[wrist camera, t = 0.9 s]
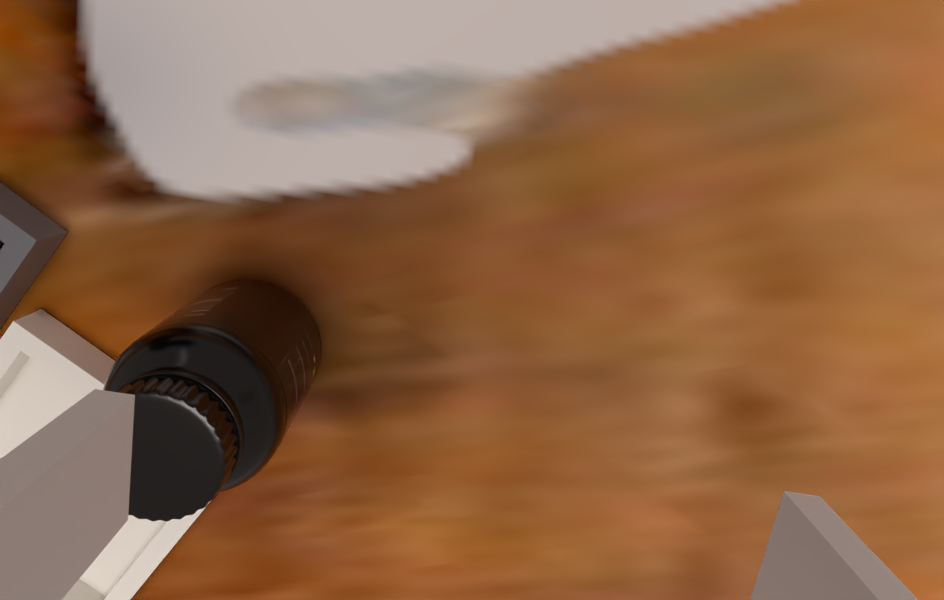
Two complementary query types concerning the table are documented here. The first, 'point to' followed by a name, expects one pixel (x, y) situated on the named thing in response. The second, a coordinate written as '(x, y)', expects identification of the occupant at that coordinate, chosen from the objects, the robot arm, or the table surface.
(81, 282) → the table surface
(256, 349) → the supplement bottle
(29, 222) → the grey square framed panel
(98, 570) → the dish
